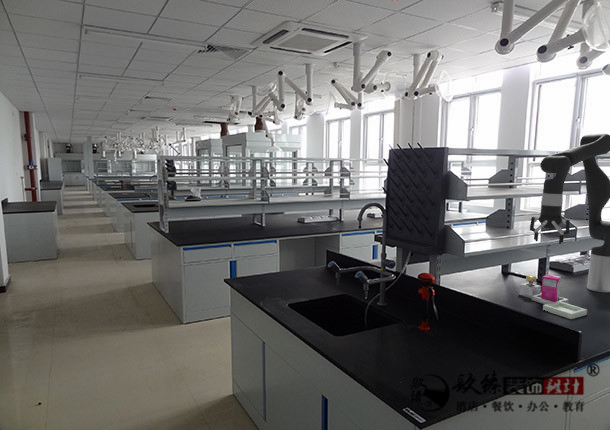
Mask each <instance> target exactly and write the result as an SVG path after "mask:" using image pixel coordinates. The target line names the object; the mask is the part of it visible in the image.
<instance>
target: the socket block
mask: <svg viewBox="0 0 610 430" xmlns="http://www.w3.org/2000/svg"><path fill="white" fill-rule="evenodd" d="M541 293H542V285H539V284H535V283H533V286H529V282H524V283H520V285H519V293H518V295H520V296H522V297H525V298H529V299H531V301H533V302H537V303H540V304H542V305H545V304H549V303H553V301H550V300H547V299H543V298H541ZM559 301H560V302H564V303H567V304H569V301H570V299H569V298H565V297H561V296H559ZM555 302H557V301H555Z"/></svg>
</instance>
